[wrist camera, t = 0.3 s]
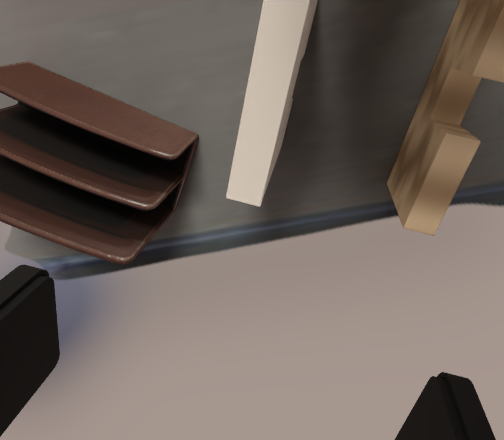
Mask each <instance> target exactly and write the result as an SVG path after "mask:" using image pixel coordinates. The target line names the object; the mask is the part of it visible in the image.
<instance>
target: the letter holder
mask: <svg viewBox="0 0 504 440" xmlns="http://www.w3.org/2000/svg"><path fill="white" fill-rule="evenodd" d="M0 92H1V93H3V94H5V95H7V96H9V97H11V98H13V99H15V100H17V101H18V104H17V105H14V106H10V107H7V108H3V109H0V221H1V222H3V223H6V224H8V225H11V226H13V227H16V228H18V229H21V230H23V231H26V232H28V233H31V234H33V235H36V236H39V237H41V238H44V239H47V240H49V241H52V242H54V243H57V244H60V245H63V246H66V247H68V248H71V249H74V250H76V251H79V252H82V253H85V254H88V255H91V256H94V257H97V258H101V259H104V260H107V261H110V262H113V263H118V264H128V263H131V262H133V261H134V260H135V259H136V258H137V256H138V255H139V254H140V253H141V251H142V250H143V249H144V248H145V246H146V245H147V244H148V242H149V241H150V240H151V239H152V237H153V236H154V235H155V233H156V232H157V231H158V230H159V229H160V227H161V226H162V225H163V224H164V223H165V222H166V220H167V219H168V218H169V217H170V216H171V215H172V213H173V212H174V211H175V209H176V206H177V203H178V200H179V197H180V194H181V191H182V188H183V185H184V182H185V179H186V175H187V172H188V169H189V166H190V163H191V160H192V156H193V153H194V150H195V147H196V144H197V140H198V137H199V135H197V134H196V133H193V132H190V131H188V130H186V129H184V128H181V127H179V126H177V125H174V124H172V123H170V122H167V121H165V120H163V119H160V118H158V117H156V116H153V115H151V114H149V113H147V112H144V111H142V110H140V109H137V108H135V107H133V106H130V105H128V104H125V103H123V102H121V101H119V100H116V99H114V98H112V97H110V96H107V95H105V94H103V93H100V92H98V91H95V90H93V89H91V88H88V87H86V86H84V85H82V84H80V83H77V82H74V81H72V80H70V79H67V78H65V77H63V76H60V75H58V74H56V73H53V72H51V71H49V70H46V69H44V68H41V67H39V66H37V65H34V64H32V63H30V62H21V63H16V64H10V65H4V66H0Z"/></svg>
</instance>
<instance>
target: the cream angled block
mask: <svg viewBox="0 0 504 440" xmlns="http://www.w3.org/2000/svg"><path fill="white" fill-rule="evenodd" d="M317 2H318V0H264V1H263V6H262V12H261V17H260V22H259V27H258V33H257V38H256V43H255V48H254V54H253V59H252V64H251V69H250V75H249V80H248V85H247V90H246V96H245V101H244V106H243V111H242V117H241V122H240V127H239V132H238V138H237V143H236V148H235V153H234V159H233V164H232V169H231V174H230V179H229V185H228V190H227V195H226V198H228V199H232V200H236V201H240V202H244V203H247V204H251V205H255V206H259V207H260V206H261V203H262V200H263V197H264V195H265V192H266V189H267V186H268V183H269V181H270V178H271V175H272V172H273V169H274V166H275V164H276V161H277V158H278V155H279V152H280V150H281V147H282V143H283V139H284V135H285V131H286V127H287V123H288V119H289V115H290V111H291V107H292V103H293V99H292V95H293V91H294V87H295V83H296V79H297V75H298V71H299V67H300V63H301V60H302V58H303V57H304V54H305V50H306V46H307V42H308V38H309V34H310V30H311V26H312V22H313V18H314V14H315V10H316V6H317Z"/></svg>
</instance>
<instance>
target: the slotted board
mask: <svg viewBox="0 0 504 440" xmlns="http://www.w3.org/2000/svg"><path fill="white" fill-rule="evenodd" d="M482 78H486V79H490V80H495V81H499V82H503V83H504V0H460V2H459V4H458V7H457V9H456V12H455V14H454V17H453V19H452V22H451V24H450V27H449V29H448V32H447V34H446V37H445V39H444V42H443V44H442V47H441V49H440V52H439V54H438V57H437V59H436V62H435V64H434V67H433V69H432V71H431V74H430V76H429V79H428V81H427V84H426V86H425V89H424V91H423V94H422V96H421V99H420V101H419V104H418V106H417V109H416V111H415V114H414V116H413V119H412V121H411V124H410V126H409V129H408V131H407V134H406V136H405V139H404V141H403V144H402V146H401V149H400V151H399V154H398V156H397V159H396V161H395V164H394V166H393V169H392V171H391V174H390V176H389V178H388V181H387V186H388V188H389V191H390V194H391V196H392V199H393V202H394V204H395V207H396V210H397V212H398V215H399V218H400V220H401V223H402V226H403V228H406V229H410V230H413V231H418V232H421V233H425V234H429V235H433V236H434V234H435V232H436V230H437V228H438V226H439V224H440V222H441V220H442V218H443V216H444V214H445V212H446V210H447V208H448V206H449V204H450V202H451V200H452V198H453V196H454V194H455V192H456V190H457V188H458V186H459V184H460V182H461V180H462V178H463V176H464V174H465V172H466V170H467V168H468V166H469V164H470V162H471V160H472V158H473V156H474V154H475V152H476V150H477V148H478V146H479V144H480V142H481V141H480V140H478V139H477V138H476V137H474V136H473V135H472V134H471V133H469V132H468V131H467V130H465V129H464V128H463V127H461V126H460V124H461V122H462V120H463V117H464V115H465V113H466V111H467V109H468V107H469V104H470V102H471V100H472V98H473V96H474V94H475V91H476V89H477V87H478V85H479V83H480V81H481V79H482Z"/></svg>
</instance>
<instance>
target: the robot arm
mask: <svg viewBox="0 0 504 440" xmlns="http://www.w3.org/2000/svg"><path fill="white" fill-rule="evenodd" d="M59 355H60V352H59V339H58V326H57V314H56V301H55V289H54V280H53V279H52V278H50V277H49V273H48V272H47V271H46V270H43V269H39V268H35V267H31V266H27V265H20V266H18V267H17V268H15V269H14V270H13V271H12V272H10V273H9V274H8V275H6V276H5V277H4V278H3V279H1V280H0V436H1V435H2V434H3V432H4V431H5V430H6V429H7V428H8V426H9V425H10V424H11V422H12V421H13V420H14V419H15V417H16V416H17V415H18V414H19V412H20V411H21V410H22V408H23V407H24V406H25V405H26V403H27V402H28V401H29V400H30V398H31V397H32V396H33V394H34V393H35V392H36V391H37V389H38V388H39V387H40V386H41V384H42V383H43V382H44V381H45V379H46V378H47V377H48V375H49V374H50V373H51V372H52V370H53V369H54V368H55V366H56V364H57V362H58V360H59ZM395 440H496V439H495V437H494V434H493V432H492V430H491V427H490V424H489V422H488V420H487V417H486V415H485V412H484V410H483V408H482V405H481V402H480V400H479V398H478V395H477V393H476V390H475V388H474V385H473V384H472V382H471V381H470V380H469V379H468V378H463V377H460V376H456V375H452V374H448V373H444V372H442V373H440V374H439V375H438V376H437V377H434V376H432V377H431V378H430V379H429V381H428V382H427V384H426V386H425V388H424V389H423V391H422V393H421V395H420V396H419V398H418V400H417V402H416V403H415V405H414V407H413V409H412V410H411V412H410V414H409V416H408V417H407V419H406V421H405V423H404V424H403V426H402V428H401V430H400V431H399V433H398V435H397V437H396V438H395Z"/></svg>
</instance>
